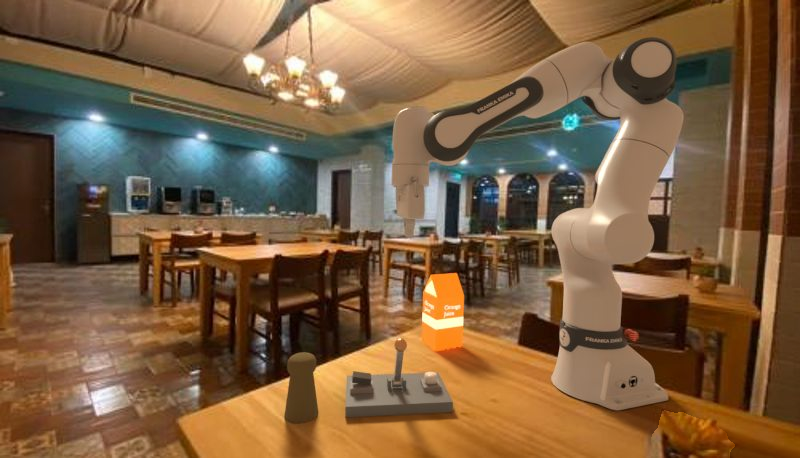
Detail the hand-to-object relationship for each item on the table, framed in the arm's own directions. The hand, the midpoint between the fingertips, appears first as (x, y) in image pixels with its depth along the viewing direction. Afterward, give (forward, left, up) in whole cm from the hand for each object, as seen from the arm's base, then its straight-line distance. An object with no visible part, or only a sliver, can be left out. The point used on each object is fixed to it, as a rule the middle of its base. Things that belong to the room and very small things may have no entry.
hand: (408, 237), depth 86 cm
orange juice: (-12, -12, -31) cm, 36 cm away
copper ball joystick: (+4, +15, -28) cm, 32 cm away
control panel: (+4, +15, -31) cm, 35 cm away
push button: (-3, +15, -28) cm, 32 cm away
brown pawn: (+22, +19, -31) cm, 43 cm away
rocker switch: (+11, +15, -27) cm, 33 cm away
